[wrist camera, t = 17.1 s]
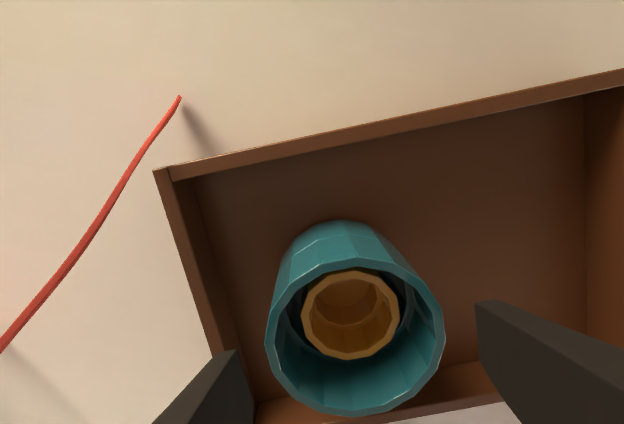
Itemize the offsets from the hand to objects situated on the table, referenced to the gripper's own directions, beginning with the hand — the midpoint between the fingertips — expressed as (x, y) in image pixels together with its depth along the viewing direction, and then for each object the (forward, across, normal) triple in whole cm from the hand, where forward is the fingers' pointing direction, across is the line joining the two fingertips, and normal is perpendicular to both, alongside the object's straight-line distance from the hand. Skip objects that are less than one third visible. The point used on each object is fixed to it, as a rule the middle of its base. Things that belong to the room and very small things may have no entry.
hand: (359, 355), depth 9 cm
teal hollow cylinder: (+6, 0, 0) cm, 6 cm away
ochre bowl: (+5, 0, 0) cm, 5 cm away
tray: (+6, -3, 0) cm, 7 cm away
